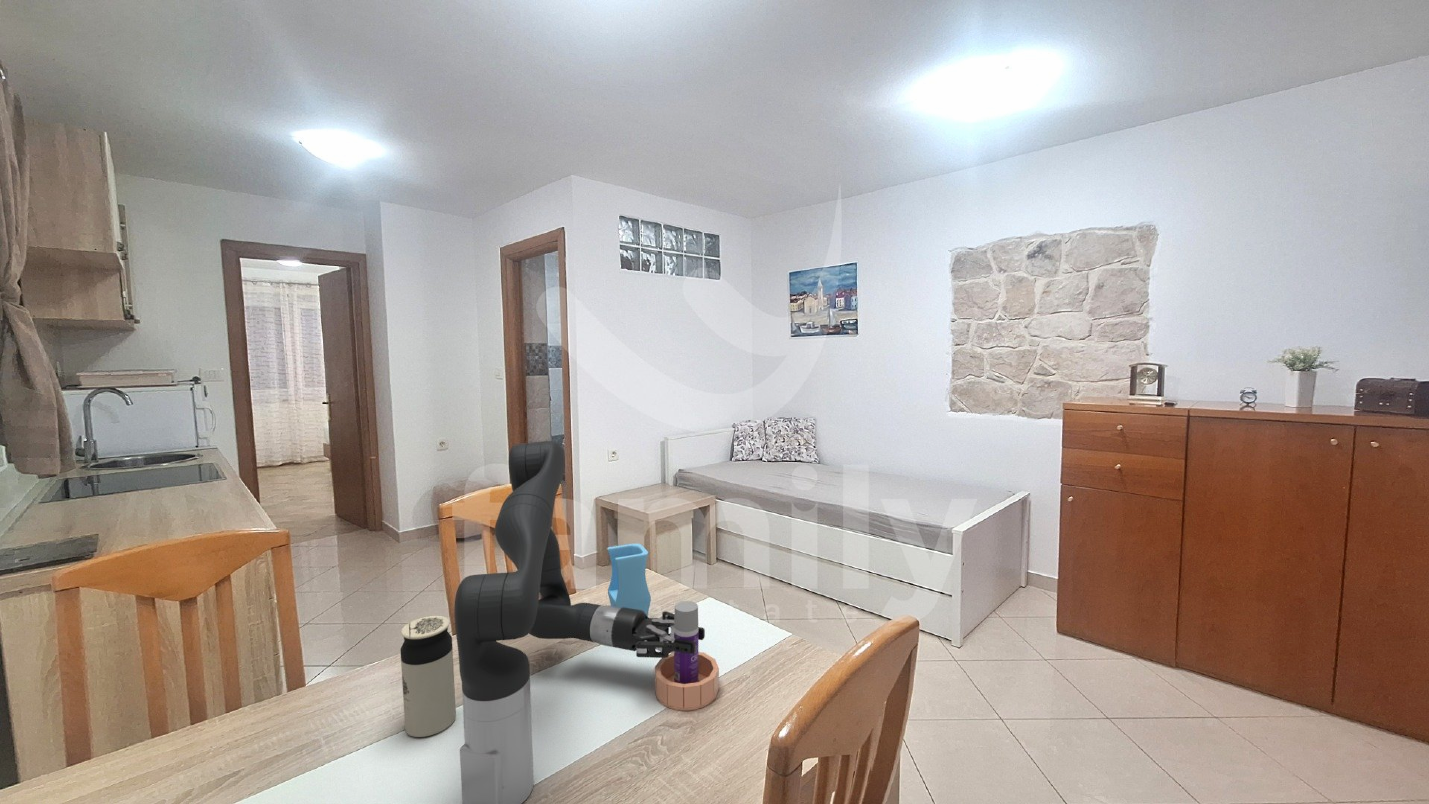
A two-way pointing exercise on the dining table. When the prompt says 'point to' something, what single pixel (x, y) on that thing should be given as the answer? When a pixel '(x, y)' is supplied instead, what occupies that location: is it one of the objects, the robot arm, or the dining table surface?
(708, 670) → the faceted terracotta pot
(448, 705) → the travel mug
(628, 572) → the vase
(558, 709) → the dining table surface
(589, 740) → the dining table surface
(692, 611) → the container
